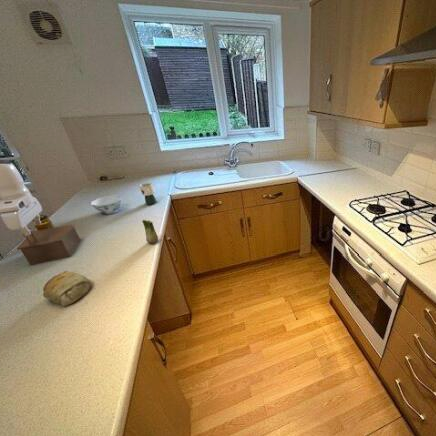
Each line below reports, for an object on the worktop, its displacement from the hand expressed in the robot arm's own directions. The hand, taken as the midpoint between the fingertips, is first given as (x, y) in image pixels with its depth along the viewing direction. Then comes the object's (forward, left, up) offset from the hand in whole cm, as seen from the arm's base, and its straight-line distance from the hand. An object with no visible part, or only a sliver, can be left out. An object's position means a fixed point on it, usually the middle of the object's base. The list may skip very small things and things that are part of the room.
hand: (33, 229), depth 103 cm
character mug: (+40, +42, -13) cm, 60 cm away
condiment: (-4, +17, -13) cm, 22 cm away
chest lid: (+3, 0, -5) cm, 5 cm away
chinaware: (+18, +39, -13) cm, 45 cm away
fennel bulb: (+43, -11, -13) cm, 47 cm away
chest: (+3, 0, -13) cm, 13 cm away
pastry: (+17, -36, -13) cm, 42 cm away
